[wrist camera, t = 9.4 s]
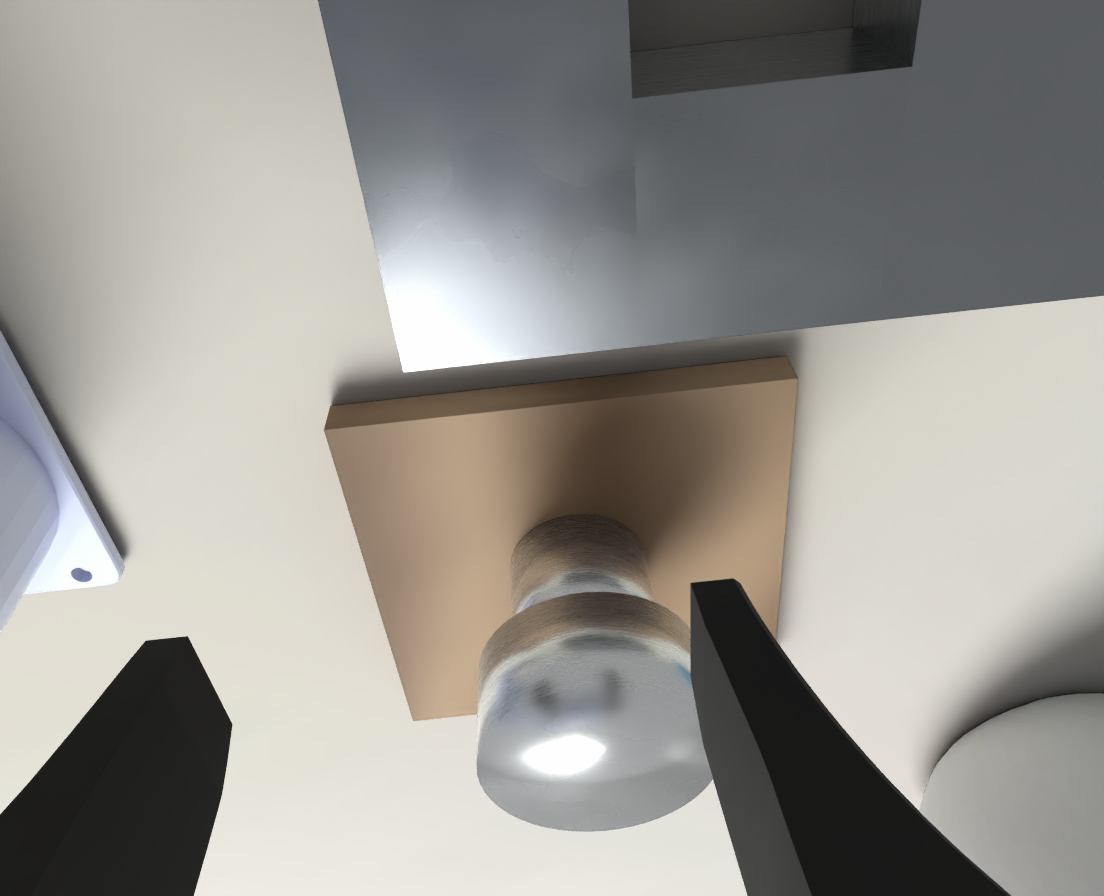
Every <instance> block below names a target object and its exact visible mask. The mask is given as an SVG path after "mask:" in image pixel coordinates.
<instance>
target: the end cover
mask: <svg viewBox="0 0 1104 896" xmlns="http://www.w3.org/2000/svg"><path fill="white" fill-rule="evenodd" d="M510 575H511V618H510V619H509V620H507V621H506V622H505V623H504V624H503V625H501V626H500V627H499V628H498V629H497V630H496V631H495V632H494V634H493V635H492V636H491V638H490V639H489V640H488V642H487V643H486V645H485V647H484V649H483V651H482V654H481V657H480V660H479V667H478V710H477V775H478V778H479V781H480V784H481V786H482V788H483V790H484V791H485V793H486V794H487V795H488V797H489V798H490V799H491V800H492V801H493V802H494V803H495V804H496V805H498V806H499V807H500V808H501V809H503V810H504V811H506V812H507V813H509V814H511V815H513V816H515V817H517V818H519V819H521V820H524V821H526V822H529V823H532V824H535V825H539V826H543V827H547V828H552V829H558V830H567V831H588V832H589V831H606V830H614V829H621V828H626V827H631V826H635V825H639V824H643V823H646V822H649V821H652V820H655V819H658V818H660V817H663V816H665V815H667V814H669V813H671V812H673V811H675V810H677V809H679V808H681V807H682V806H684V805H686V804H687V803H688V802H690V801H691V800H693V799H694V798H695V797H696V796H698V795H699V794H700V793H701V792H702V791H703V790H704V789H705V788H706V787H707V786H708V784H709V783H710V782H711V781H712V779H713V777H712V773H711V770H710V766H709V763H708V760H707V756H706V753H705V749H704V746H703V741H702V736H701V731H700V725H699V720H698V715H697V709H696V704H695V698H694V693H693V687H692V682H691V664H690V628H689V626H688V625H687V624H686V623H685V622H684V621H683V620H682V619H681V618H680V617H679V616H678V615H676V614H675V613H673V612H672V611H671V610H669V609H667V608H666V607H664V606H662V605H660V604H658V603H656V602H655V601H654V596H653V591H652V586H651V581H650V576H649V571H648V566H647V561H646V556H645V552H644V548H643V546H642V543H641V541H640V540H639V538H638V537H637V536H636V535H635V533H634V532H633V531H632V530H630V529H629V528H628V527H626V526H625V525H623V524H622V523H620V522H618V521H616V520H613V519H611V518H607V517H604V516H599V515H594V514H572V515H565V516H561V517H557V518H554V519H551V520H548V521H546V522H544V523H542V524H540V525H538V526H536V527H535V528H533V529H532V530H531V531H529V532H528V533H527V534H526V535H525V536H524V537H523V538H522V539H521V540H520V541H519V543H518V544H517V546H516V547H515V549H514V551H513V554H512V557H511V563H510Z"/></svg>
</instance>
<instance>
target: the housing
mask: <svg viewBox="0 0 1104 896" xmlns="http://www.w3.org/2000/svg"><path fill="white" fill-rule="evenodd" d="M318 3H319V7H320V11H321V16H322V20H323V24H324V29H325V33H326V37H327V42H328V46H329V50H330V55H331V59H332V64H333V68H334V72H335V77H336V81H337V85H338V90H339V94H340V98H341V103H342V107H343V112H344V116H345V120H346V125H347V129H348V133H349V138H350V142H351V146H352V151H353V155H354V160H355V164H356V168H357V173H358V177H359V181H360V186H361V190H362V194H363V199H364V203H365V207H366V212H367V216H368V221H369V225H370V229H371V234H372V238H373V242H374V247H375V251H376V255H377V260H378V264H379V269H380V273H381V277H382V282H383V286H384V290H385V295H386V299H387V303H388V308H389V312H390V316H391V321H392V325H393V330H394V334H395V338H396V343H397V347H398V351H399V356H400V360H401V364H402V369H403V372H413V371H422V370H431V369H440V368H449V367H458V366H467V365H476V364H485V363H494V362H503V361H513V360H522V359H531V358H540V357H549V356H558V355H567V354H576V353H585V352H594V351H603V350H613V349H622V348H631V347H640V346H649V345H658V344H667V343H676V342H685V341H694V340H704V339H713V338H722V337H731V336H740V335H749V334H758V333H767V332H776V331H785V330H794V329H804V328H813V327H822V326H831V325H840V324H849V323H858V322H867V321H876V320H885V319H894V318H904V317H913V316H922V315H931V314H940V313H949V312H958V311H967V310H976V309H985V308H994V307H1004V306H1013V305H1022V304H1031V303H1040V302H1049V301H1058V300H1067V299H1076V298H1085V297H1095V296H1104V0H855V7H854V17H853V27H849V28H840V29H831V30H822V31H813V32H805V33H796V34H787V35H778V36H770V37H761V38H752V39H743V40H735V41H726V42H717V43H708V44H700V45H691V46H682V47H673V48H665V49H656V50H647V51H638V52H630V33H629V8H628V0H318Z"/></svg>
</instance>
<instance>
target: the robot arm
mask: <svg viewBox="0 0 1104 896" xmlns="http://www.w3.org/2000/svg"><path fill="white" fill-rule="evenodd" d="M80 568H84V569H86V570H88V571H84V570H82V569H80ZM124 568H125V565H124V562H123V560H122V558H121V556H120V554H119V552H118V550H117V548H116V547H115V545H114V543H113V541H112V539H111V537H110V535H109V533H108V532H107V530H106V528H105V526H104V524H103V522H102V520H101V518H100V516H99V515H98V513H97V511H96V509H95V507H94V505H93V503H92V501H91V500H90V498H89V496H88V494H87V492H86V490H85V488H84V486H83V485H82V483H81V481H80V479H79V477H78V475H77V473H76V471H75V469H74V468H73V466H72V464H71V462H70V460H69V458H68V456H67V454H66V453H65V451H64V449H63V447H62V445H61V443H60V441H59V439H58V438H57V436H56V434H55V432H54V430H53V428H52V426H51V424H50V422H49V421H48V419H47V417H46V415H45V413H44V411H43V409H42V407H41V406H40V404H39V402H38V400H37V398H36V396H35V394H34V392H33V391H32V389H31V387H30V385H29V383H28V381H27V379H26V377H25V375H24V374H23V372H22V370H21V368H20V366H19V364H18V362H17V360H16V359H15V357H14V355H13V353H12V351H11V349H10V347H9V345H8V344H7V342H6V340H5V338H4V336H3V334H2V332H1V331H0V634H1V632H2V630H3V629H4V627H5V625H6V624H7V622H8V620H9V618H10V617H11V615H12V613H13V611H14V610H15V608H16V606H17V605H18V603H19V601H20V599H21V598H22V596H23V594H29V593H39V592H48V591H57V590H67V589H76V588H85V587H95V586H104V585H110V584H114V583H116V582H117V581H118V580H120V577H121V575H122V573H123V571H124ZM690 664H691V682H692V687H693V693H694V698H695V704H696V709H697V715H698V720H699V725H700V731H701V736H702V741H703V746H704V749H705V753H706V756H707V760H708V763H709V766H710V770H711V773H712V777H713V780H714V783H715V787H716V790H717V794H718V797H719V801H720V804H721V807H722V811H723V814H724V817H725V821H726V824H727V828H728V831H729V834H730V838H731V841H732V844H733V848H734V851H735V855H736V858H737V861H738V865H739V868H740V871H741V875H742V878H743V882H744V885H745V888H746V892H747V895H748V896H1011V895H1010V894H1009V893H1008V892H1007V891H1005V890H1004V889H1003V888H1002V887H1001V886H1000V885H999V884H997V883H996V882H995V881H994V880H993V879H992V878H991V877H989V876H988V875H987V874H986V873H985V872H984V871H983V870H981V869H980V868H979V867H978V866H977V865H976V864H975V863H973V862H972V861H971V860H970V859H969V858H968V857H967V856H965V855H964V854H963V853H962V852H961V851H960V850H959V849H958V848H957V847H956V846H955V845H953V844H952V843H951V842H950V841H949V840H948V839H947V838H946V837H945V836H944V835H943V834H942V833H941V832H940V831H939V830H938V829H937V828H936V827H935V826H934V825H933V824H932V823H931V822H930V821H929V820H928V819H926V818H925V817H924V816H923V815H922V814H921V813H920V812H919V811H918V810H917V809H916V808H915V806H914V805H913V804H912V803H911V802H910V801H909V800H908V799H907V798H906V797H905V796H904V795H903V794H902V793H901V792H900V791H899V790H898V789H897V788H896V787H895V786H894V785H893V784H892V783H891V782H890V781H889V780H888V779H887V777H886V776H885V775H884V774H883V773H882V772H881V771H880V770H879V769H878V768H877V767H876V765H875V764H874V763H873V762H872V761H871V760H870V759H869V758H868V757H867V756H866V754H865V753H864V752H863V751H862V750H861V749H860V747H859V746H858V745H857V744H856V743H855V742H854V740H853V739H852V738H851V737H850V736H849V735H848V733H847V732H846V731H845V730H844V729H843V728H842V726H841V725H840V724H839V723H838V722H837V720H836V719H835V718H834V717H833V715H832V714H831V713H830V712H829V711H828V709H827V708H826V707H825V706H824V704H823V703H822V702H821V700H820V699H819V698H818V697H817V695H816V694H815V693H814V691H813V690H812V689H811V687H810V686H809V685H808V684H807V682H806V681H805V680H804V678H803V677H802V676H801V674H800V673H799V672H798V671H797V669H796V668H795V666H794V665H793V664H792V662H791V661H790V660H789V658H788V657H787V655H786V654H785V653H784V651H783V650H782V648H781V647H780V645H779V644H778V642H777V641H776V640H775V638H774V637H773V635H772V634H771V632H770V631H769V629H768V628H767V626H766V625H765V623H764V622H763V620H762V619H761V617H760V615H759V614H758V612H757V611H756V609H755V607H754V606H753V604H752V602H751V601H750V599H749V597H748V596H747V594H746V592H745V590H744V589H743V587H742V585H741V583H739V582H738V581H737V580H735V579H734V578H731V579H721V580H712V581H703V582H693V583H690ZM231 730H232V723H231V721H230V719H229V717H228V715H227V713H226V711H225V709H224V707H223V705H222V703H221V701H220V699H219V697H218V695H217V693H216V691H215V689H214V687H213V685H212V683H211V681H210V679H209V677H208V675H207V673H206V671H205V669H204V667H203V666H202V664H201V662H200V660H199V658H198V656H197V654H196V652H195V650H194V648H193V646H192V644H191V642H190V640H189V638H188V636H186V637H177V638H168V639H158V640H149V641H145V642H144V644H143V645H142V646H141V647H140V648H139V650H138V651H137V652H136V653H135V654H134V656H133V657H132V658H131V659H130V660H129V662H128V663H127V664H126V665H125V667H124V668H123V669H122V670H121V671H120V673H119V674H118V675H117V676H116V678H115V679H114V680H113V681H112V683H111V684H110V685H109V686H108V687H107V689H106V690H105V691H104V692H103V694H102V695H101V696H100V697H99V699H98V700H97V701H96V702H95V704H94V705H93V706H92V707H91V709H90V710H89V711H88V712H87V713H86V715H85V716H84V717H83V718H82V720H81V721H80V722H79V723H78V725H77V726H76V727H75V728H74V729H73V731H72V732H71V733H70V734H69V735H68V737H67V738H66V739H65V740H64V741H63V743H62V744H61V745H60V746H59V747H58V749H57V750H56V751H55V752H54V753H53V755H52V756H51V757H50V758H49V759H48V761H47V762H46V763H45V764H44V765H43V767H42V768H41V769H40V770H39V771H38V773H37V774H36V775H35V776H34V777H33V778H32V780H31V781H30V782H29V783H28V784H27V785H26V786H25V788H24V789H23V790H22V791H21V792H20V793H19V794H18V795H17V797H16V798H15V799H14V800H13V801H12V802H11V803H10V804H9V805H8V807H7V808H6V809H5V810H4V811H3V812H2V813H1V814H0V896H194V892H195V889H196V885H197V882H198V878H199V875H200V872H201V868H202V865H203V861H204V858H205V854H206V851H207V847H208V843H209V840H210V836H211V833H212V829H213V825H214V822H215V818H216V815H217V811H218V807H219V803H220V800H221V796H222V791H223V785H224V779H225V773H226V767H227V760H228V753H229V745H230V738H231Z"/></svg>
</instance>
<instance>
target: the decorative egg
mask: <svg viewBox="0 0 1104 896" xmlns="http://www.w3.org/2000/svg"><path fill="white" fill-rule="evenodd" d="M919 812H920V813H921V814H922V815H923V816H924V817H925V818H926V819H928V820H929V821H930V822H931V823H932V824H933V825H934V826H935V827H936V828H937V829H938V830H939V831H940V832H941V833H942V834H943V835H944V836H945V837H946V838H947V839H948V840H949V841H950V842H951V843H952V844H953V845H955V846H956V847H957V848H958V849H959V850H960V851H961V852H962V853H963V854H964V855H965V856H967V857H968V858H969V859H970V860H971V861H972V862H973V863H975V864H976V865H977V866H978V867H979V868H980V869H981V870H983V871H984V872H985V873H986V874H987V875H988V876H989V877H991V878H992V879H993V880H994V881H995V882H996V883H997V884H999V885H1000V886H1001V887H1002V888H1003V889H1004V890H1005V891H1007V892H1008V893H1009V894H1010V895H1011V896H1104V693H1087V694H1070V695H1063V696H1055V697H1049V698H1045V699H1041V700H1037V701H1034V702H1031V703H1029V704H1026V705H1023V706H1021V707H1018V708H1014V709H1011V710H1009V711H1007V712H1004V713H1002V714H1000V715H998V716H995V717H993V718H991V719H989V720H987V721H986V722H984V723H982V724H981V725H979V726H977V727H976V728H974V729H973V730H971V731H970V732H968V733H966V734H965V735H963V736H962V737H961V738H960V739H959V740H958V741H957V742H956V743H955V744H953V745H952V746H951V748H950V749H949V750H948V751H947V752H946V754H945V755H944V756H943V757H942V758H941V759H940V761H939V762H938V763H937V765H936V767H935V768H934V770H933V772H932V774H931V776H930V779H929V781H928V784H927V787H926V789H925V792H924V796H923V799H922V803H921V806H920V810H919Z"/></svg>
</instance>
